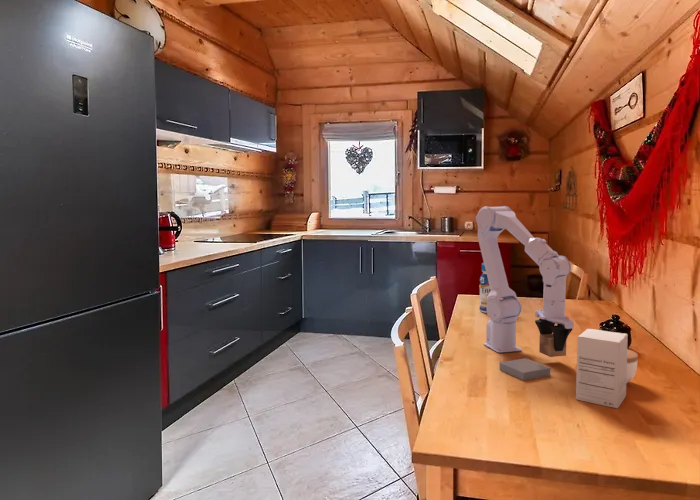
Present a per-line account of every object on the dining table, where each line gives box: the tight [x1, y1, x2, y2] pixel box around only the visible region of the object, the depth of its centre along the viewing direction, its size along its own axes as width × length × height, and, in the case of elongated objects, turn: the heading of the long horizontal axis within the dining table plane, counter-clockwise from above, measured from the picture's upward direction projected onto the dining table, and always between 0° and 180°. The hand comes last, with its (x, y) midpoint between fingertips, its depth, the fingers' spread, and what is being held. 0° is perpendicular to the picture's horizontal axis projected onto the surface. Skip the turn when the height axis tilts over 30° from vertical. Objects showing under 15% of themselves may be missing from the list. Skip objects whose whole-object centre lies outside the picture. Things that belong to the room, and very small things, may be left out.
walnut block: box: [538, 333, 567, 358], centre depth 140 cm, size 5×5×5 cm
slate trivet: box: [499, 357, 551, 381], centre depth 133 cm, size 9×9×2 cm
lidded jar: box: [626, 348, 639, 384], centre depth 125 cm, size 11×11×9 cm
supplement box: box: [575, 328, 629, 409], centre depth 115 cm, size 9×9×15 cm
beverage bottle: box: [478, 262, 491, 314], centre depth 206 cm, size 8×8×20 cm
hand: (552, 347), depth 141 cm, fingers closed on walnut block, 5 cm apart
